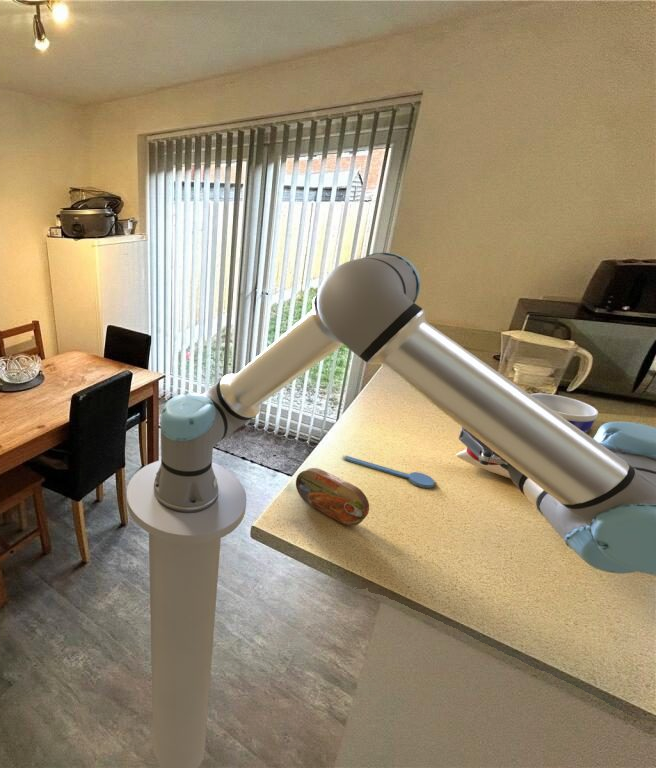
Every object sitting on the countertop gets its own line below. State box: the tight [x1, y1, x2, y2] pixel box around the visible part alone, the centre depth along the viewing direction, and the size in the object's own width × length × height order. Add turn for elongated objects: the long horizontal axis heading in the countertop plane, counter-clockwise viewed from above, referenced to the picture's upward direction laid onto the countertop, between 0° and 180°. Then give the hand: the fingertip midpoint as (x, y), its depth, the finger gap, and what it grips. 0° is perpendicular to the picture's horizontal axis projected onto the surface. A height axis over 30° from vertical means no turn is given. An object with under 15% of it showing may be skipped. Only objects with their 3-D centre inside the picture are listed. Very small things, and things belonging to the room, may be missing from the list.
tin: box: [295, 467, 370, 526], centre depth 83 cm, size 15×3×8 cm, turn 37°
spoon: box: [344, 455, 435, 489], centre depth 96 cm, size 19×5×1 cm, turn 53°
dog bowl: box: [529, 392, 599, 434], centre depth 116 cm, size 15×15×6 cm
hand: (483, 420), depth 84 cm, fingers closed on beverage can, 7 cm apart
